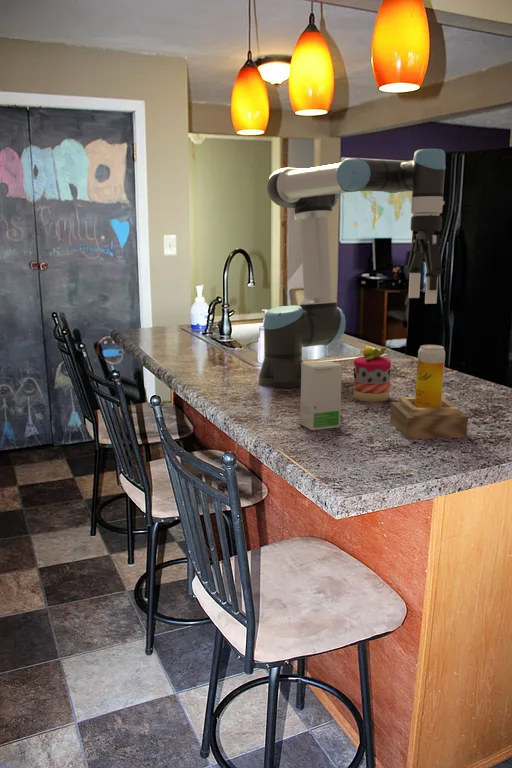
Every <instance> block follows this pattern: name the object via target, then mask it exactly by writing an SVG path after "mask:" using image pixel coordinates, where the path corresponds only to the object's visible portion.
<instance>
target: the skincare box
mask: <svg viewBox="0 0 512 768" xmlns="http://www.w3.org/2000/svg"><path fill="white" fill-rule="evenodd" d="M342 376H343V364H341V363H337V362H334V361H330V360H327V361H326V360H325V361H323V360H321V361H319V360H318V361H303V362H302V363H301V386H300V408H299V411H300V412H299V425H301V426H303V427H305V428H306V429H308V430H310V431H318V430H319V431H320V430H328V429H335V428H338V429H339V428H341V412H342V409H341V407H342V384H343V383H342V379H343V377H342Z"/></svg>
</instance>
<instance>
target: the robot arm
mask: <svg viewBox="0 0 512 768" xmlns="http://www.w3.org/2000/svg"><path fill="white" fill-rule="evenodd" d="M446 169H447V166H446V152H445V151H444V150H443V149H441V148H422V149H417V150H416V151H414V155H413V159H411V160H398V161H397V160H381V159H380V160H379V159H364V158H359V157H356V158H355V157H354V158H345V159H343V160H342V161H341V162H338V163H333V164H327V165H321V166H315V167H309V168H305V167H303V168H300V167H299V168H297V167H283V168H280V169H277V170H276V171H274V172H272V174H270V176H269V178H268V180H267V184H266V189H267V190H266V191H267V195H268V197H269V199H270V201H272V202H273V204H275V205H277V206H279V207H281V208H287V209H293V210H294V216H295V218H296V219H298V221H299V228H300V229H299V230H300V248H301V259H302V260H301V263H302V264H301V265H302V279H303V280H302V281H303V284H302V285H303V299H302V300H301V301H300V303H299V305H293V304H292V305H281V306H277V307H273V308H270V309H268V310H267V311H266V312H265V313H264V319H263V339H264V341H263V343H264V344H263V345H264V346H263V347H264V350H263V351H264V352H263V353H264V354H263V356H264V357H263V361H262V364H261V367H260V370H259V372H258V373H259V374H258V384H260V385H261V386H264V387H269V388H278V389H279V388H281V389H284V388H285V389H286V388H287V389H289V388H299V387H301V363H302V362H304V361H303V348H307V347H308V348H309V347H315V346H316V347H318V346H328V345H330V344H335V343H338V341H339V340H340V339H341V338H342V336H343V335H344V333H345V331H346V330H345V329H346V323H347V321H346V316H345V313H344V312H343V310H342V309H341V308H340V307H338V303H337V302H338V301H337V300H336V299H335V298H333V296H332V281H331V279H332V277H331V263H330V262H331V261H330V259H331V258H330V241H329V223H328V221H329V220H328V218H329V217H330V216H331V215H332V214H333V208H334V207H335V206H336V205H337V204H338V199H339V196H340V194H345V193H356V192H364V191H365V192H382V193H383V192H384V193H387V194H392V193H393V194H396V193H397V194H398V193H402V192H403V193H404V192H412V193H411V206H410V207H411V208H410V210H411V211H410V213H411V214H412V216H411V217H410V231H412V232H416V233H417V234H412V238H411V247H410V250H409V251H410V252H409V256H408V262H407V267H406V269H407V271H408V272H409V281H408V298H409V299H419V298H420V292H421V291H420V289H421V277H422V275H421V274H422V272H423V270H422V268H421V267H422V266H423V265H422V264H423V263H424V262H425V263H424V264H425V267H426V273H425V276H424V277H425V294H424V304H425V305H428V304H430V305H431V304H432V305H433V304H437V303H438V300H437V299H438V286H439V285H438V283H439V278H440V275H442V274H443V268H442V267H443V266H442V257H441V256H442V255H441V247H440V239H441V238H440V234H435V232H440V231H441V230H442V227H443V226H442V225H443V217H442V215H440V214H442V213H443V206H444V205H445V202H446V201H445V200H444V191H445V190H444V187H445V176H446ZM423 261H424V262H423Z"/></svg>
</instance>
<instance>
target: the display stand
mask: <svg viewBox="0 0 512 768" xmlns="http://www.w3.org/2000/svg"><path fill="white" fill-rule="evenodd" d="M468 419H469V416H468V415H467V414H465V413H464V412H463V411H461V410H460V408H459V406H457V405H455V404H454V403H453V402H451V401H450V400H448V398H446V397H444V396H442V405H441V407H430V408H417V407H416V406H415V396H411V397H406V396H405V397H398V401H392V402H390V423H391V424H392V425H393V427H395V428H396V429H397V431H399V433H400V434H401V435H402V436H403V437H404V438H405V439H406V440H420V439H423V440H425V439H424V438H427V439H454V438H455V439H456V438H461V437H464V438H467V437H468V435H467V434H468V421H469V420H468ZM461 439H462V438H461Z"/></svg>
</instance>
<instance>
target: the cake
mask: <svg viewBox="0 0 512 768" xmlns="http://www.w3.org/2000/svg"><path fill="white" fill-rule="evenodd" d="M386 350H387V347H386V346H383V347H381V348H380V349H379V348H373V347H370V346H367V347H365V348H363V351H362V353H363V356H359V357H355V359H354V360H353V366H354V367H353V369H352V371H353V379H354V380H353V381H352V383H351V384H352V385H353V386H354V388H353V398H354V399H355V400H357V401H361V402H362V401H363V402H372V403H373V402H375V403H377V402H385V401H388V400H389V397H390V396H389V395H390V389H391V388H392V384H391V381H390V378H391V367H392V361H391V360H390V358H389V359H388V358H387V357H385V356H383V355H384V354H386Z"/></svg>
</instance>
